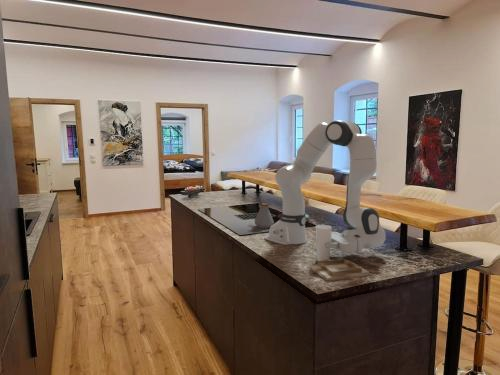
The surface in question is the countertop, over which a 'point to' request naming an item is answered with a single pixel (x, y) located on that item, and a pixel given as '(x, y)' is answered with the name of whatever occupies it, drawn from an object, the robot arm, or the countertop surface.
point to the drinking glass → (323, 241)
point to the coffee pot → (264, 216)
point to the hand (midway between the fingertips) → (321, 242)
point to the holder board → (338, 269)
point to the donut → (306, 218)
